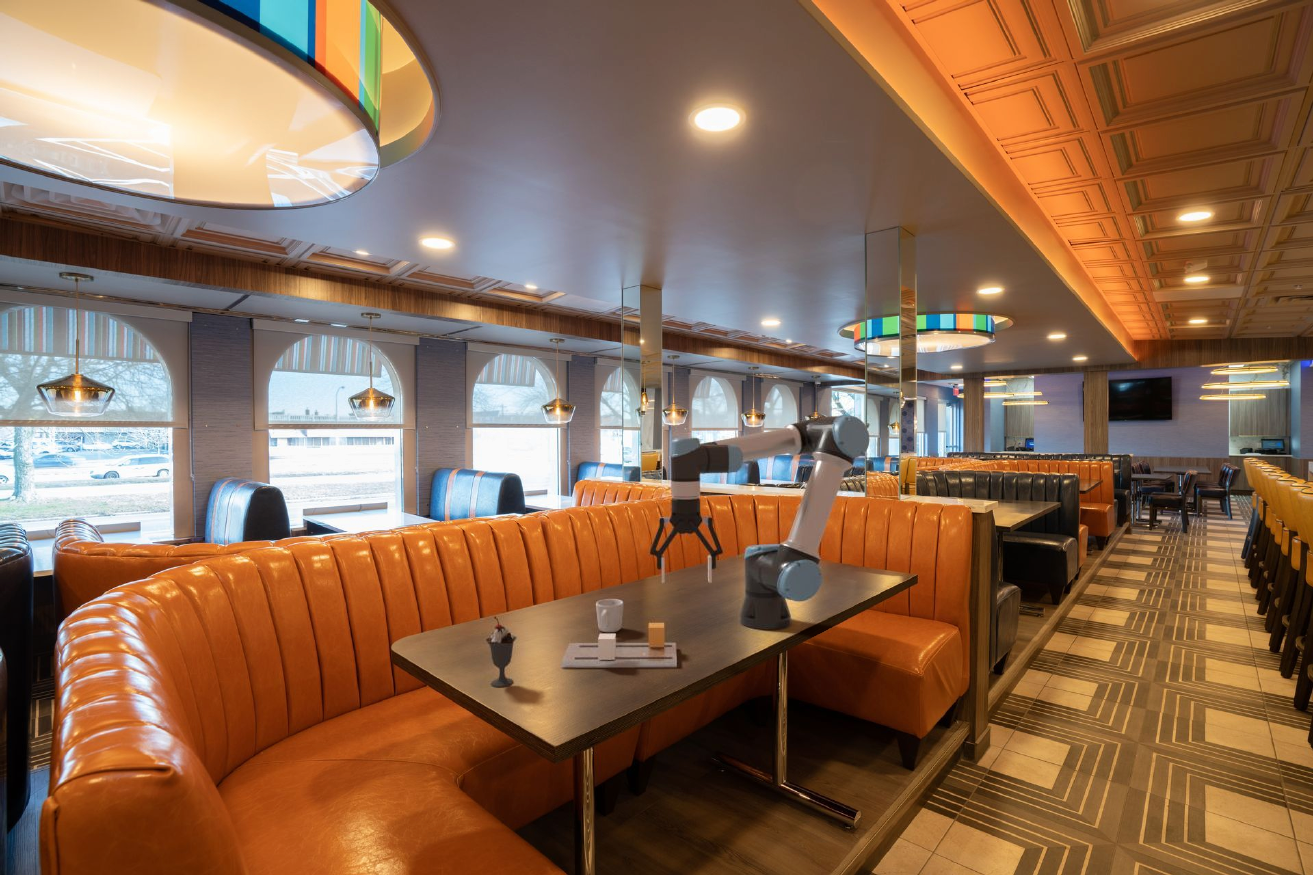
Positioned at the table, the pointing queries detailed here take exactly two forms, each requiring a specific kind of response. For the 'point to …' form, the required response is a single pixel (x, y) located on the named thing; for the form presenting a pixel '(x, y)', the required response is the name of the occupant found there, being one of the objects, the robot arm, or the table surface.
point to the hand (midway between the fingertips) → (686, 581)
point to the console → (620, 656)
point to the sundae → (501, 653)
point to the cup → (609, 614)
